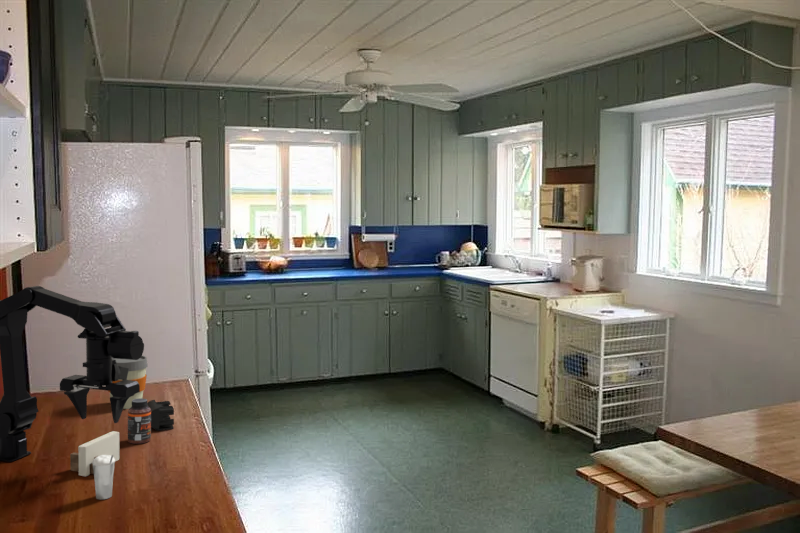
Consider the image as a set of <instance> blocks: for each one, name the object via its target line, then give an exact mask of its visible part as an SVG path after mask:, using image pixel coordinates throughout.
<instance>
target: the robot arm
mask: <svg viewBox="0 0 800 533" xmlns="http://www.w3.org/2000/svg"><path fill="white" fill-rule="evenodd" d="M36 307H40V308H42V309H45V310H47V311H51V312H54V313H57V314H60V315H62V316H65V317H68V318H70V319H72V320H74V322H75V323H76V324H77V325H78V326H80V327H81V328H83V331H82V332H80V333H79V334H78V335H77V338H78V339H83V340H84V339H85V347H86V348H85V350H86V351H85V352H86V353H85V355H86V357H85V358H86V361H84V362H82V368H85V369H86V375H82V374H73V375H70V376H67V377H63V378H62V379H61V381H60V382H59V391H61V392H63V393H64V395H66V396H67V398H68V399H69V400H70V401H71V403H72V405H73V407H74V408H75V410H76V412H77V413H78V415H79V417H80V419H81V420H86V419H87V412H88V411H87V410H88V406H87V404H88V394H89V392H90V390H101V391H110V392H109V394H110V393H111V394H112V396H113V397H110V396H109V403H110V404H109V405H110V408H111V415H112V420H113V421H112V422H113V423H114V424H117V423H119V421H120V418H121V416H122V414H123V411H124V409H123V408H124V405H125V403H126V401H127V400H128V399H129V397H131V396H134V395H135V394H136V393H138V392H140V385H139V383H138V382H137V381H132V380H127V376H128V371H129V368H126V367H121V366H117V362H116V360H114V359H112V357H113V358H116V359H129V360H138V359H139V358H140V357H141V356H143V353H144V350H145V343H144V342H143V338H142V337H141V336H140V334H139V331H138V330H131V331H130V330H126V328H125V326H124V324H123V323H122V321H121V320H120V318H119V316H118V315H117V313H116V311H115V308H114V306H112V305H111V304H108V303H103V302H102V303H101V302H93V301H92V302H91V301H81V300H79V299H77V298H73V297H70V296H67V295H64V294H61V293H59V292H56V291H52V290H49V289H47V288H45V287H44V286H40V285H32V286H27V287H24V288H23V289H22V290H19V291H18V292H16V293H14V294H12V295H9V296H8V297H5V298H3V299H0V363H1V377H2V387H3V388H2V389H3V395H2V398H1V400H0V461H1V462H2V461H3V462H8V463H11V462H14V461H17V460H19V459H22V458H24V457H27V456H28V455H30V454H32V452H31V451H29V450H28V439H27V436H26V435H27V434H26V433H27V432H26V431H27V430H29V429H31V427H32V425H33V422H34V421H35V419H37V415H38V414H37V413H39V412H40V411H39V409H38V397H37V396H36V395H35V396H31V394H30V393H29V392H28V391H27V390H28V389H27V381H26V371H25V359H24V348H23V347H24V345H23V338H22V335H23V331H24V329H25V327H26V325H27V323H28V313H29V312H31V311H32V310H33V309H35V308H36ZM118 379H121V380H123V381H120V382H117V383H112V382H113V381H118ZM25 430H26V431H25Z"/></svg>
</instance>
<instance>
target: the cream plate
mask: <svg viewBox="0 0 800 533" xmlns="http://www.w3.org/2000/svg"><path fill="white" fill-rule="evenodd" d="M77 451H78V453H79V472H78V476H82V477H88V476H90V474H91V473H90V464H91V463H92V461H93V460H94V457H96V456H100V455H111V456H112V455H113V457H114V458H115V462H117V461H119V460H120V432H119V431H114V430H112V431H110V432H108V433H106V434H103V435H101V436H98V437H96V438H94V439H92V440H90V441H87V442H85V443H82V444H80V445H78V450H77Z"/></svg>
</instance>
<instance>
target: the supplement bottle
mask: <svg viewBox="0 0 800 533" xmlns="http://www.w3.org/2000/svg"><path fill="white" fill-rule="evenodd" d="M147 404H148V399H147V398H143V397H142V398H140V399H134V400H132V407H131V408H130V409H127V442H128V443H130V444H133V445H134V444H135V445H140V444H145V443H147V442H150V441H151V439H152V438H151V437H152V427H151V409H150V407H148V405H147Z"/></svg>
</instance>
